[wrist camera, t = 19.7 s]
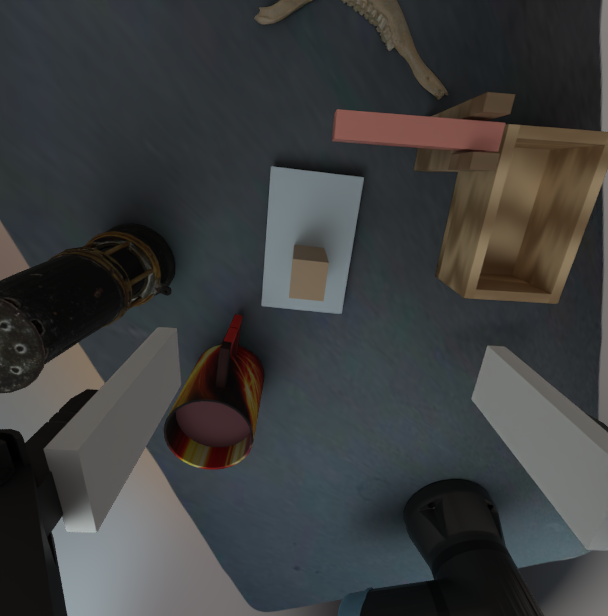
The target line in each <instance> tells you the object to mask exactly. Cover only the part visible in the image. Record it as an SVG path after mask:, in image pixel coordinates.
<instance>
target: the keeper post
mask: <svg viewBox="0 0 608 616" xmlns="http://www.w3.org/2000/svg"><path fill="white" fill-rule="evenodd" d="M514 98H515V94H504V93H492V92H487V93H484V94H482V95H480V96H477V97H475V98H473V99H470V100H468V101H466V102H464V103H461V104H459V105H457V106H454V107H452V108H450V109H447V110H445V111H443V112H440V113H438V114H436V115H434V116H431V117H439V118H452V119H464V120H477V121H487V120H491V119H494V118H498V117H501V116H505V115H508V114H510V113H511V109H512V105H513V102H514ZM499 156H500V154H497V153H483V152H467V151H453V150H440V149H427V148H418V151H417V156H416V162H415V168H414V171H425V172H468V171H496V167H497V164H498V160H499Z"/></svg>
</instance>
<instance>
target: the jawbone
mask: <svg viewBox="0 0 608 616" xmlns="http://www.w3.org/2000/svg"><path fill="white" fill-rule="evenodd" d="M311 1H313V0H280V1H278V2H277V3H276V4H274V5H272V6H270V7H260V8H259V9H260V12H259V14H257V15H256V16H255V18H254V19H255V20H256V21H257V22H259V23H260V24H265V25H266V24H273V23H276V22H278V21H280V20H282V19H284V18H286V17H287V16H288V15H290V14H291V13H293V12H294V11H296V10H297V9H299V8H300V7H302V6H303V5H305V4H307V3H309V2H311ZM342 2H343V3H345V2H347V3H348V4H347V6H350V7H351V6H354V7H353V9H354V10H355V12H356V11H359V13H360V14H361V16H362V15H363V14H364V17H365V18H366V19H369V23H370V24H374V26H377V28H376V30H377V32H381V34H380V35H381V39H382V41H383V42H385V43H386V44H385V45H386V46H387V47H386V49H388V51H391V50H392V49H393V48H395V49H397V51H398V52H399V54H401V55H402V56H403V57H404V58H405V59H406V61H407V62H408V63H409V65H410V67H411V68H412V71H413V73H414V76H415V77H416V79H417V80H418V82H419V83H420V84H421V85H422V86H423V87H424V88H425V89H426V90H427V91H429V92H430V93H432V94H433V95H434V96H435V97H436V98H437V99H438V100H439V99H441V98H442V97H443V96H444V93H445V96H446V95H447V96H448V92H447V91H446V89H445V87H444V86H443V84H442V83H441V82H440V81H439V79H438V78H437V77H436V76H435V75H434V74H433V73H432V71H431V70H430V69H429V68H428V67H427V66H426V65H425V64H424V62H423V61H422V60H421V58H420V56H419V55H418V53H417V50H416V48H415V45H414V43H413V40H412V37H411V34H410V31H409V28H408V25H407V23H406V20H405V17H404V15H403V12H402V10H401V8H400V6H399V4H398V2H397V0H342ZM372 15H373V16H372Z"/></svg>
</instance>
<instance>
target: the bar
mask: <svg viewBox="0 0 608 616" xmlns="http://www.w3.org/2000/svg"><path fill="white" fill-rule="evenodd" d="M504 127H505V123H502V122H489V121H477V120H464V119H452V118H439V117H427V116H414V115H402V114H389V113H376V112H364V111H351V110H339V109H337V110H336V112H335V114H334V124H333V135H332V141H335V142H348V143H362V144H375V145H388V146H401V147H414V148H427V149H440V150H453V151H467V152H483V153H489V152H498V151H499V147H500V143H501V139H502V135H503V131H504Z"/></svg>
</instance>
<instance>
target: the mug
mask: <svg viewBox="0 0 608 616" xmlns="http://www.w3.org/2000/svg"><path fill="white" fill-rule="evenodd" d="M242 317H243V316H242V315H237V314H235V316H234V318H233V320H232V323H231V325H230V327H229V330H228V332H227V334H226V336H225V338H224V341H223V343H222V345H218V346H215V347H212V348H210V349H209V350H207V351H206V352H205V353H203V354H202V356H201V357H200V358H199V360H198V362H197V364H196V366H195V367H194V369H193V371H192V373H191V375H190V377H189V378H188V380H187V382H186V384H185V386H184V388H183V390H182V391H181V393H180V395H179V397H178V399H177V401H176V402H175V404H174V406H173V408H172V410H171V412H170V413H169V415H168V417H167V419H166V422H165V424H164V438H165V441H166V443H167V445H168V447H169V448H170V450H171V451H172V452H173V453H174V454H175V455H176V456H177V457H178V458H179V459H181V460H182V461H183V462H185V463H187V464H189V465H192V466H195V467H198V468H203V469H224V468H227V467H231V466H233V465H235V464H237V463H239V462H240V461H242V460H243V459H244V458H245V457H246V456H247V455H248V454H249V452H250V450H251V448H252V445H253V441H254V435H255V429H256V423H257V418H258V412H259V406H260V400H261V394H262V389H263V383H264V369H263V366H262V364H261V362H260V360H259V359H258V358H257V356H255V355H254V354H253V353H252V352H251V351H249V350H247V349H246V348H243V347H241V346H238V345H239V337H240V329H241V322H242Z"/></svg>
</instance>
